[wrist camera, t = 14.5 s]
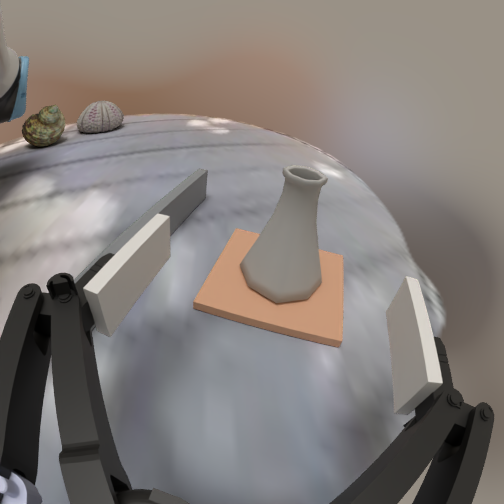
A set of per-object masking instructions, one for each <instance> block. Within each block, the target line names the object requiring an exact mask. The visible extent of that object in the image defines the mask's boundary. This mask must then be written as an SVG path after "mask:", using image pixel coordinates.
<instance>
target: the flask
mask: <svg viewBox="0 0 504 504" xmlns="http://www.w3.org/2000/svg"><path fill="white" fill-rule="evenodd" d="M283 176H284V177H285V183H284V187H283V192H282V195H281V197H280V200H279V202H278V204H277V207H276V209H275V211H274V213H273V215H272V217H271V218H270V220H269V221H268V223H267V224H266V226H265V228H264V229H263V231H262V232H261V234H260V235H259V237H258V238H257V240H256V241H255V243H254V244H253V246H252V247H251V248H250V250H249V251H248V253H247V254H246V256H245V257H244V259H243V260H242V262H241V263H240V268H241V270H242V272H243V275H244V277H245V280H246V282H247V285H248V286H249V287H250V288H252V289H254V290H255V291H257V292H259V293H260V294H262V295H264V296H265V297H267V298H269V299H270V300H272V301H274V302H275V303H282V302H289V301H296V300H303V299H308V298H309V297H310V296H311V295H312V293H313V292H314V291H315V290H316V289H317V288H318V287H319V285H320V284H321V283H322V277H321V266H320V258H319V248H318V236H317V225H316V219H317V205H318V198H319V194H320V190H321V187H322V186H323V185H325V184H326V182H327V180H328V178H327V177H326V176H324V175H323V174H322V173H321V172H319V171H317V170H314V169H312V168H309V167H306V166H294V165H291V166H288V167H285V168H283Z"/></svg>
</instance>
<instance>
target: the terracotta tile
mask: <svg viewBox="0 0 504 504" xmlns="http://www.w3.org/2000/svg"><path fill="white" fill-rule="evenodd" d="M259 235H260V234H257V233H253V232H249V231H245V230H241V229H237V228H236V230H235V231H234V233H233V235H232V236H231V238H230V240H229V241H228V243H227V245H226V246H225V248H224V250H223V251H222V253H221V255H220V257H219V258H218V260H217V262H216V263H215V265H214V267H213V269H212V270H211V272H210V274H209V275H208V277H207V279H206V281H205V282H204V284H203V286H202V288H201V289H200V291H199V293H198V294H197V296H196V298H195V300H194V301H193V308H194V309H197V310H200V311H203V312H207V313H210V314H213V315H217V316H220V317H223V318H227V319H230V320H233V321H237V322H240V323H244V324H247V325H251V326H255V327H258V328H262V329H266V330H269V331H273V332H277V333H281V334H285V335H289V336H293V337H297V338H301V339H305V340H309V341H313V342H317V343H322V344H326V345H330V346H335V347H339V346H340V344H341V343H342V334H343V256H342V255H338V254H334V253H331V252H327V251H323V250H319V258H320V266H321V277H322V283H321V284H320V285H319V287H318V288H317V289H316V290H315V291H314V292H313V293H312V295H311V296H310V297H309V298H308V299H303V300H296V301H289V302H282V303H275V302H274V301H272V300H270V299H269V298H267V297H265V296H264V295H262V294H260V293H259V292H257V291H255V290H254V289H252V288H250V287H249V286H248V285H247V282H246V280H245V277H244V275H243V272H242V270H241V268H240V263H241V262H242V260H243V259H244V257H245V256H246V254H247V253H248V251H249V250H250V248H251V247H252V246H253V244H254V243H255V241H256V240H257V238H258V237H259Z"/></svg>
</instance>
